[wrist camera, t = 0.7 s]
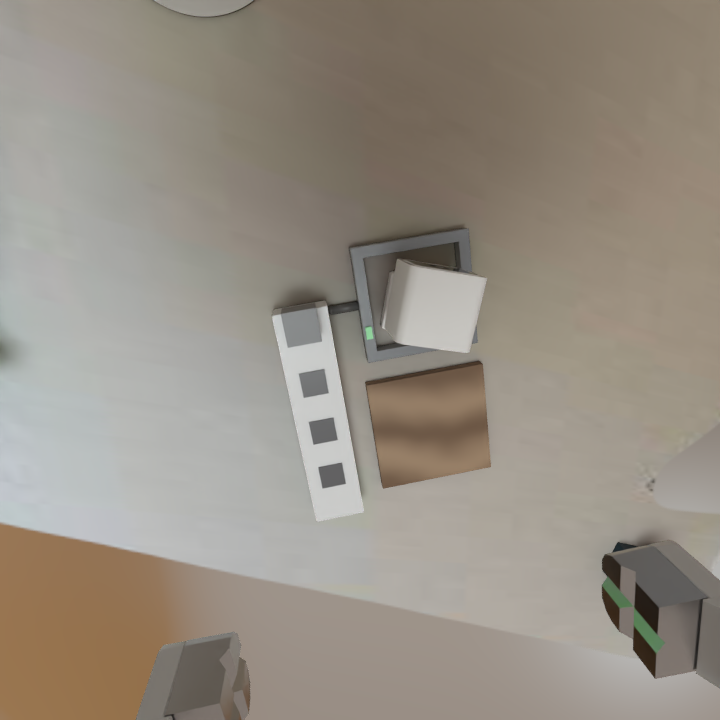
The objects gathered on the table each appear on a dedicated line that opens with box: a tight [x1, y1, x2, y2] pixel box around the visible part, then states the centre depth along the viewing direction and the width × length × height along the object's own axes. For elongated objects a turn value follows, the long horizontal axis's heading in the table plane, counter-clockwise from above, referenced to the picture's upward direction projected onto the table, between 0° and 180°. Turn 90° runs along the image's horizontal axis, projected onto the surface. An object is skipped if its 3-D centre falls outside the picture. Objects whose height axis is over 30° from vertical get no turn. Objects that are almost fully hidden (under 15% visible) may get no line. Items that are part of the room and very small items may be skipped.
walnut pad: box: [365, 361, 491, 488], centre depth 51 cm, size 12×12×1 cm
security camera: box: [380, 259, 487, 353], centre depth 42 cm, size 6×7×10 cm
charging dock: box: [349, 228, 478, 363], centre depth 46 cm, size 11×11×2 cm
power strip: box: [272, 300, 364, 522], centre depth 47 cm, size 22×9×5 cm, turn 9°
